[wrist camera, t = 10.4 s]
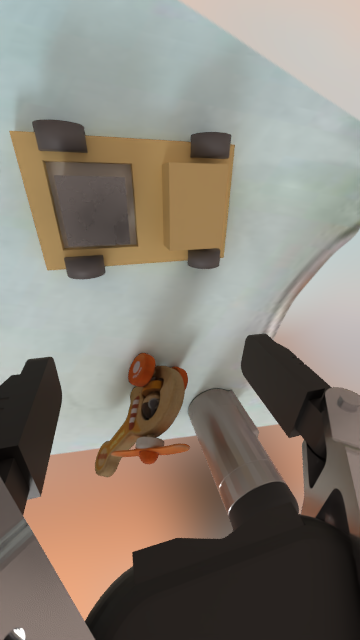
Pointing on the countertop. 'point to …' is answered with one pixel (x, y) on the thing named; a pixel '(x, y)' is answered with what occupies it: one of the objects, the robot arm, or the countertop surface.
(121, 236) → the block
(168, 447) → the toy helicopter
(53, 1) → the countertop surface
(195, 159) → the chassis
